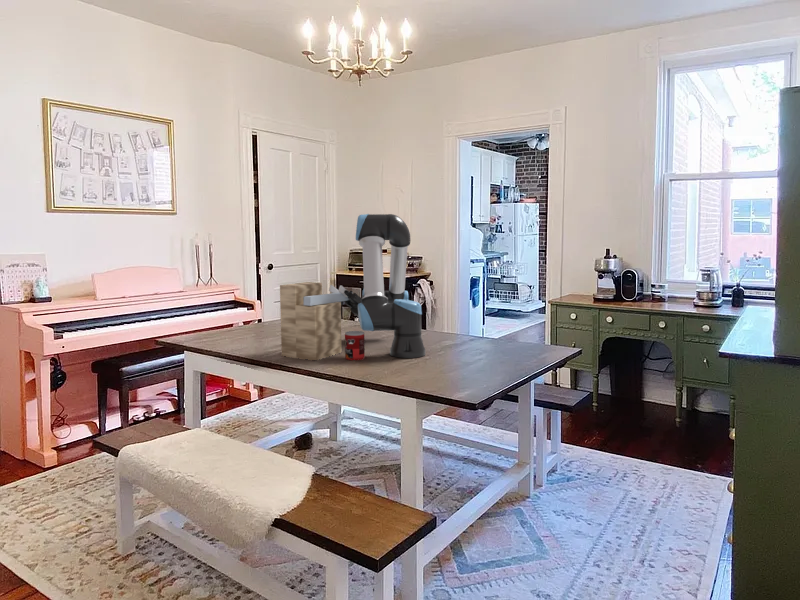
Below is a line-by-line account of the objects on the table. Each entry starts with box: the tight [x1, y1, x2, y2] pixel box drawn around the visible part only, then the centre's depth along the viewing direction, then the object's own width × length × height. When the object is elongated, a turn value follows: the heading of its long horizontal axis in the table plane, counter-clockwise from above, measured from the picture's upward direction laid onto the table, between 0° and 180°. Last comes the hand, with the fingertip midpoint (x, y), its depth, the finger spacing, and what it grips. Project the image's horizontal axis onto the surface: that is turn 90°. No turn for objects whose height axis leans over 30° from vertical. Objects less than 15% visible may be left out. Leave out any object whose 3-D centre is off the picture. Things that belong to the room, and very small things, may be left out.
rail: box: [304, 291, 354, 306], centre depth 255 cm, size 30×4×4 cm, turn 150°
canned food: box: [344, 330, 366, 361], centre depth 246 cm, size 8×8×11 cm
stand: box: [279, 281, 343, 361], centre depth 253 cm, size 18×18×30 cm
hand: (335, 288), depth 258 cm, fingers open, 4 cm apart
